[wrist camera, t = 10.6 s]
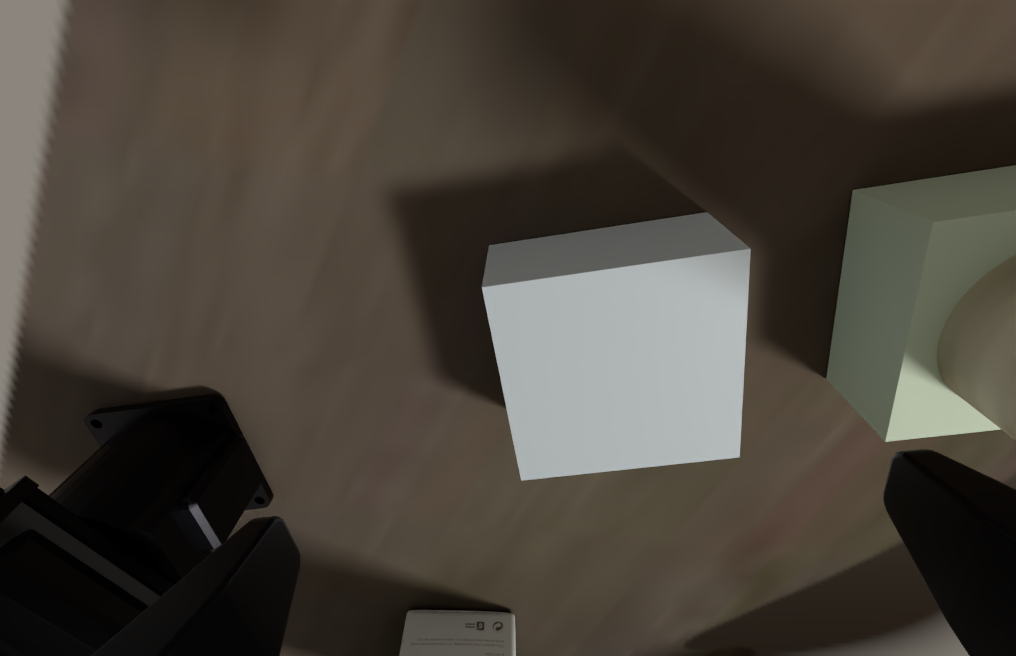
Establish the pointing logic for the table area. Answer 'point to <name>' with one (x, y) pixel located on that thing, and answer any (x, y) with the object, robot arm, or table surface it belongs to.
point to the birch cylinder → (984, 347)
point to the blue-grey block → (621, 344)
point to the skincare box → (458, 633)
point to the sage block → (915, 295)
